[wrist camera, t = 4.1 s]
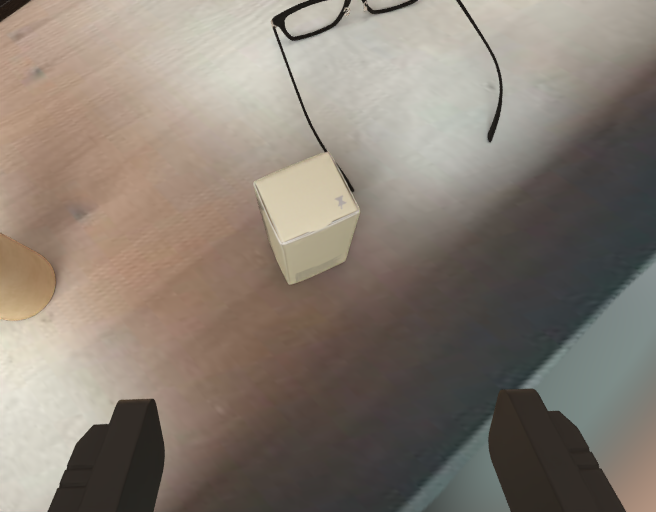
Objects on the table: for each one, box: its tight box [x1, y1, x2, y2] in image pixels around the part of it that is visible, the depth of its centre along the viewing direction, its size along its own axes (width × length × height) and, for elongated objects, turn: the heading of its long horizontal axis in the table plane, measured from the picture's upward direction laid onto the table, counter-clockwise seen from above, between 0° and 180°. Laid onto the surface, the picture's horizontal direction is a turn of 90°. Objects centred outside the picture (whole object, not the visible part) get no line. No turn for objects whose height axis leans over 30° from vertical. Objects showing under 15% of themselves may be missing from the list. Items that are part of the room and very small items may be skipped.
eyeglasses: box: [271, 0, 503, 192], centre depth 45 cm, size 16×16×4 cm
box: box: [254, 152, 360, 285], centre depth 37 cm, size 5×4×13 cm
